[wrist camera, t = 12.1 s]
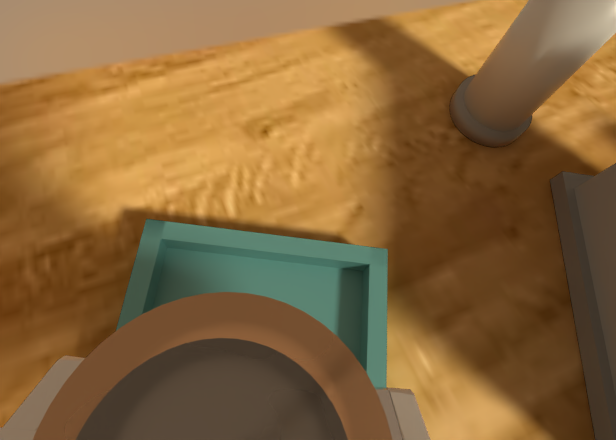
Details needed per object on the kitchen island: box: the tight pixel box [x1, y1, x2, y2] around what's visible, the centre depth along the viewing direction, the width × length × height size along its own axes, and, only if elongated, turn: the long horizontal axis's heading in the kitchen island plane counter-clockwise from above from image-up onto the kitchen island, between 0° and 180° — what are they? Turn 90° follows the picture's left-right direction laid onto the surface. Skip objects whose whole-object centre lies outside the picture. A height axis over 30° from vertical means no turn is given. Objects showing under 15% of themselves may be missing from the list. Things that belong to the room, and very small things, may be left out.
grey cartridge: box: [450, 0, 616, 147], centre depth 19 cm, size 5×5×10 cm
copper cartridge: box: [33, 292, 392, 440], centre depth 8 cm, size 5×5×10 cm
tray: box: [116, 219, 388, 388], centre depth 15 cm, size 11×14×2 cm
